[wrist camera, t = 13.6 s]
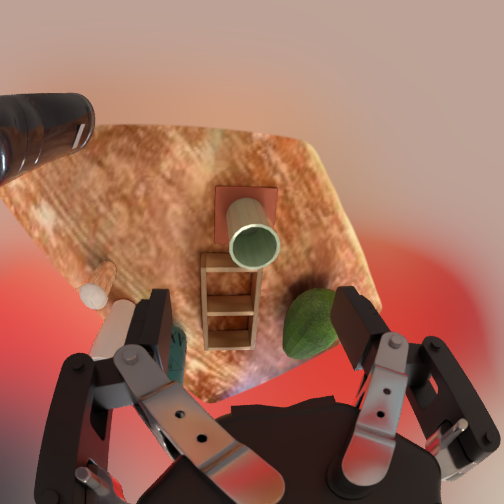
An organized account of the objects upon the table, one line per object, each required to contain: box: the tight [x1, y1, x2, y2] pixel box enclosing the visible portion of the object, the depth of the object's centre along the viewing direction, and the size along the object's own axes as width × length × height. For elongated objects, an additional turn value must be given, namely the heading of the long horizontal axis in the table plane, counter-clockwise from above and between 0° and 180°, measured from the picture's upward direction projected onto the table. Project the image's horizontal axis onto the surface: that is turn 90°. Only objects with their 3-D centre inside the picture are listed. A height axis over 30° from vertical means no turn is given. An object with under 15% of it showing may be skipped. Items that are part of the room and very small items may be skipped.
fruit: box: [283, 288, 338, 359], centre depth 49 cm, size 15×10×10 cm, turn 155°
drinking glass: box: [89, 299, 136, 361], centre depth 42 cm, size 7×7×15 cm
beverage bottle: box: [167, 325, 187, 386], centre depth 44 cm, size 6×7×20 cm
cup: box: [226, 198, 280, 269], centre depth 39 cm, size 6×6×10 cm
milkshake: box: [75, 260, 117, 310], centre depth 40 cm, size 4×5×10 cm
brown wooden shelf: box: [201, 253, 263, 351], centre depth 48 cm, size 9×17×4 cm, turn 176°
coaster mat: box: [215, 186, 278, 244], centre depth 43 cm, size 9×9×1 cm
